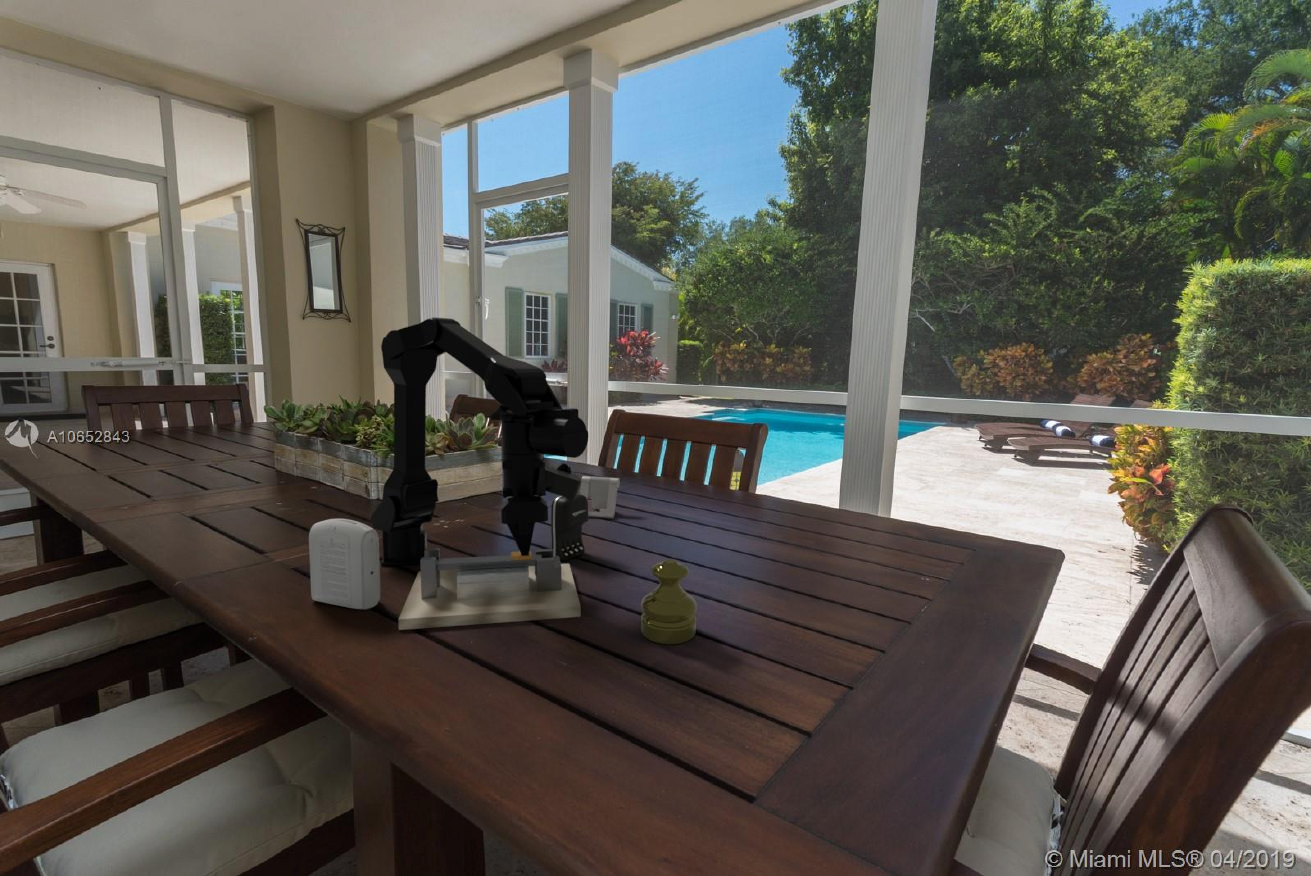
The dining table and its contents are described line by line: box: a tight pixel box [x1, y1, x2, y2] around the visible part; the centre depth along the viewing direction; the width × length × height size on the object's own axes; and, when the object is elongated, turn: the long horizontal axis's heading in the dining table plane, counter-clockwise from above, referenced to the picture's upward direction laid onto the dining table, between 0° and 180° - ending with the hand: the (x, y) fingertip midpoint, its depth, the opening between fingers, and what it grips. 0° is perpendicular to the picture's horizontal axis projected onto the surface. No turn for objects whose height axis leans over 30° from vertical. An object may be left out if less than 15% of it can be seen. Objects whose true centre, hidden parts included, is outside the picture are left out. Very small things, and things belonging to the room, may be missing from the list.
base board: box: [398, 563, 582, 631], centre depth 92 cm, size 24×18×2 cm
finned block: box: [457, 566, 529, 601], centre depth 92 cm, size 10×8×4 cm
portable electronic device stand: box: [579, 475, 621, 519], centre depth 141 cm, size 9×8×8 cm
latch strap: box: [436, 550, 542, 576], centre depth 91 cm, size 17×2×3 cm, turn 103°
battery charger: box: [550, 493, 589, 561], centre depth 111 cm, size 7×4×11 cm, turn 148°
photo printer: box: [308, 518, 381, 610], centre depth 89 cm, size 10×4×12 cm, turn 73°
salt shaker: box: [640, 558, 698, 645], centre depth 81 cm, size 7×8×10 cm
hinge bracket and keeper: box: [419, 547, 562, 599], centre depth 92 cm, size 20×5×6 cm, turn 103°
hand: (525, 554), depth 92 cm, fingers closed, pressing on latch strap
